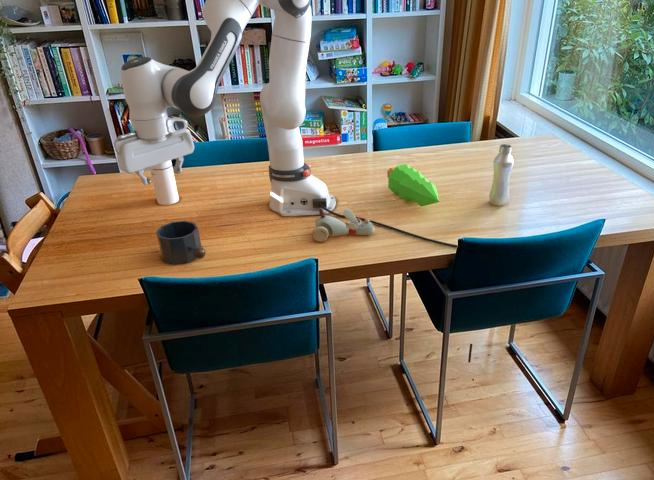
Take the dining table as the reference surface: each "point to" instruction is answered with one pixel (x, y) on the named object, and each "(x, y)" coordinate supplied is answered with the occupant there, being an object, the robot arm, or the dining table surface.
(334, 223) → the toy dog
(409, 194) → the decorative tree
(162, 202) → the cylindrical container
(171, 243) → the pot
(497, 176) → the plastic bottle
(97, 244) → the dining table surface
